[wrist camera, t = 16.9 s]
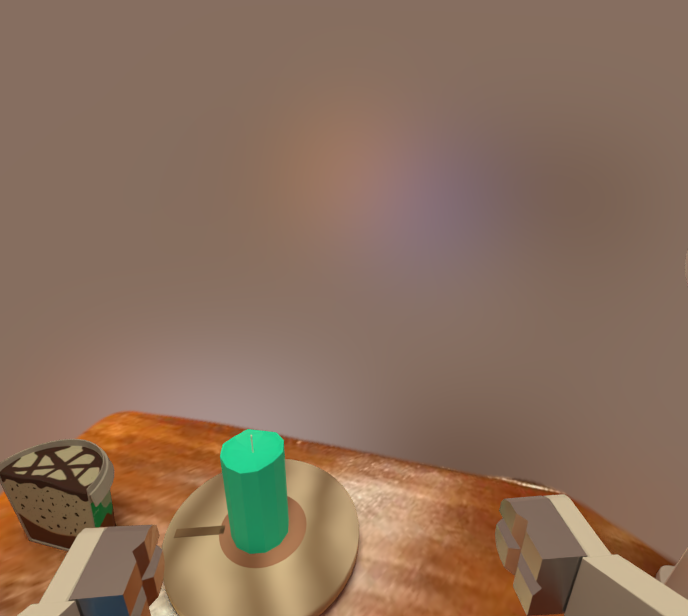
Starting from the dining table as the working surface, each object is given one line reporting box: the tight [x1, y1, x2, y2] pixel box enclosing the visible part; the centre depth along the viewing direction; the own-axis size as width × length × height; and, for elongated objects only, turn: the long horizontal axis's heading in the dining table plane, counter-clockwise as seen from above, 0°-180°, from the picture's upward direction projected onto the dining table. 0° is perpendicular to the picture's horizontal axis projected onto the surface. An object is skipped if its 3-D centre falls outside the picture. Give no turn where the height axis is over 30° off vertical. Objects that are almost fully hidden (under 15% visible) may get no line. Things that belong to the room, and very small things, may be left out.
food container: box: [0, 439, 115, 551], centre depth 45 cm, size 12×6×10 cm, turn 76°
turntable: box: [162, 459, 359, 616], centre depth 44 cm, size 20×20×2 cm
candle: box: [220, 429, 289, 554], centre depth 41 cm, size 6×6×12 cm
